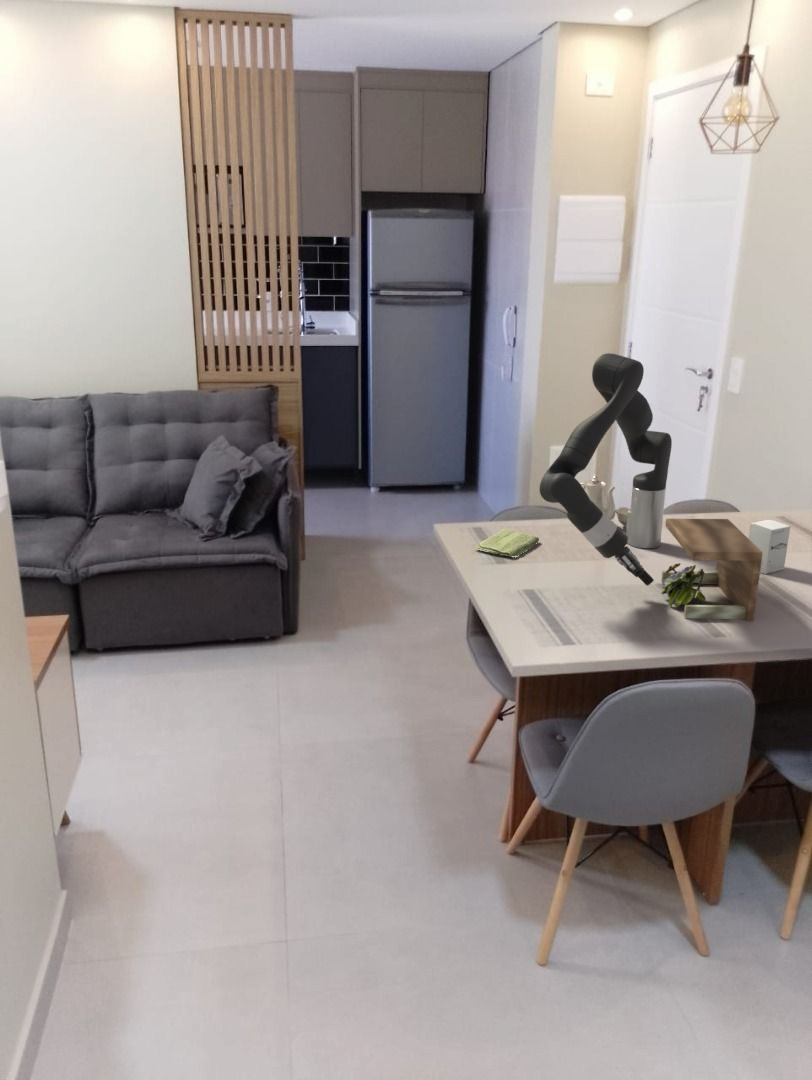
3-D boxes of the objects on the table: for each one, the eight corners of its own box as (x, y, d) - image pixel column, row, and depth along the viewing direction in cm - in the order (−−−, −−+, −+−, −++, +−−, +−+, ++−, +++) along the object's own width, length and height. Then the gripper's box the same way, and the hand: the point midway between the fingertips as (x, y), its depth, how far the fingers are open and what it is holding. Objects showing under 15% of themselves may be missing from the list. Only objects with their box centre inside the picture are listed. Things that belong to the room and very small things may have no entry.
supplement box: (765, 575, 234) (771, 529, 230) (743, 566, 240) (749, 522, 236) (784, 570, 237) (791, 525, 233) (762, 561, 243) (768, 518, 239)
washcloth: (473, 552, 252) (473, 542, 251) (503, 536, 266) (503, 526, 264) (513, 561, 245) (514, 551, 244) (542, 544, 258) (543, 534, 257)
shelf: (686, 620, 206) (693, 551, 201) (660, 580, 230) (666, 518, 224) (753, 620, 206) (762, 552, 200) (720, 581, 230) (728, 519, 224)
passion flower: (668, 616, 222) (675, 570, 225) (711, 619, 215) (718, 572, 218) (650, 603, 214) (658, 556, 217) (694, 606, 207) (702, 558, 210)
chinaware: (650, 532, 273) (658, 479, 269) (622, 539, 261) (630, 484, 257) (574, 513, 292) (580, 464, 287) (545, 519, 280) (551, 468, 276)
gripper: (621, 532, 206) (669, 582, 210) (610, 516, 218) (655, 563, 222) (597, 554, 208) (644, 602, 211) (587, 536, 220) (632, 582, 224)
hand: (650, 582), depth 217 cm, fingers closed
